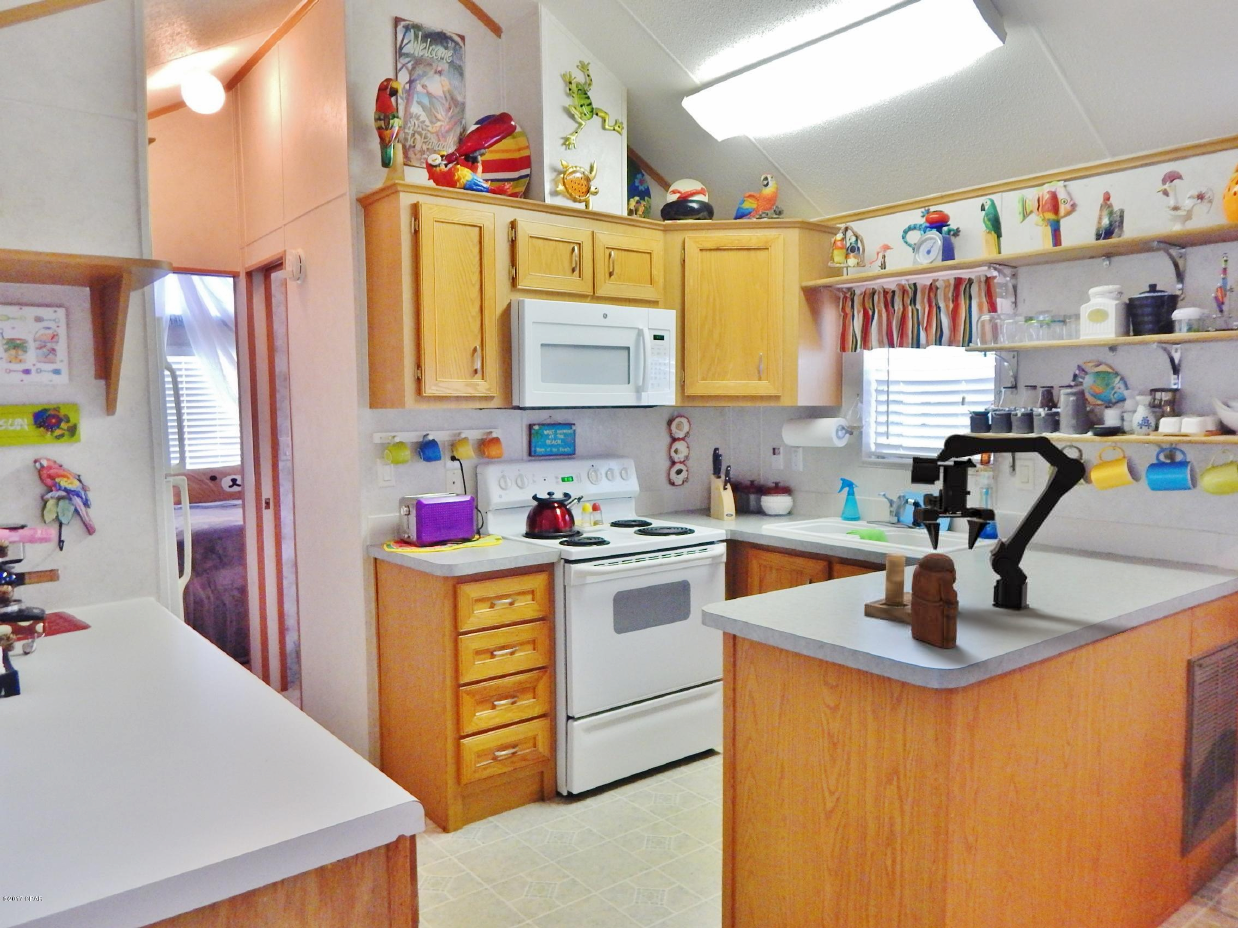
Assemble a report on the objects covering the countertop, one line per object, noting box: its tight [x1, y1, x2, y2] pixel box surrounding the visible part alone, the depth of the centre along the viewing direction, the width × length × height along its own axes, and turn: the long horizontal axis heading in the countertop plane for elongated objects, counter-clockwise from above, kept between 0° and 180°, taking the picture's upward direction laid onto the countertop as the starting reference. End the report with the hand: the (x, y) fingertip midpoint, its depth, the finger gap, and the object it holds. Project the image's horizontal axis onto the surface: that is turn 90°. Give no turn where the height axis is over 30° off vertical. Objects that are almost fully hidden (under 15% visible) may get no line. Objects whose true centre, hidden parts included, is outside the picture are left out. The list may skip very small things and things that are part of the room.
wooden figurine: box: [910, 552, 959, 649], centre depth 174 cm, size 12×6×18 cm, turn 21°
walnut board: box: [863, 591, 960, 625], centre depth 200 cm, size 13×20×2 cm, turn 134°
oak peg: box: [884, 552, 906, 608], centre depth 196 cm, size 4×4×14 cm
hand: (952, 549), depth 211 cm, fingers open, 9 cm apart
